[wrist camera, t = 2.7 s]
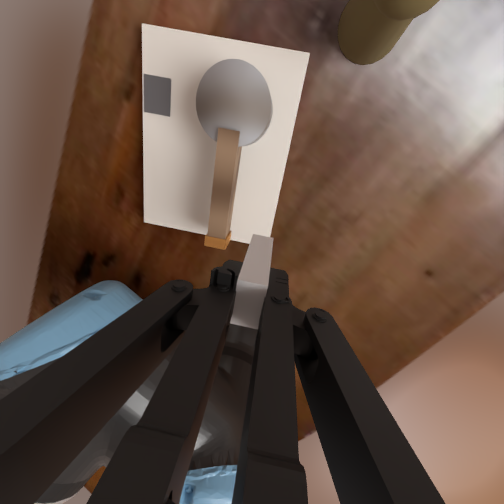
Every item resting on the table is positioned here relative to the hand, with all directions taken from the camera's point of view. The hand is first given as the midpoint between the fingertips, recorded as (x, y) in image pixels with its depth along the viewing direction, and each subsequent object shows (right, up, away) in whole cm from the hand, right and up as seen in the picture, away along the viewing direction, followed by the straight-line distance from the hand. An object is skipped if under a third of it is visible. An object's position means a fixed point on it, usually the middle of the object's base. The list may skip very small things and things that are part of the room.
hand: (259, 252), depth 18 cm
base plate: (-5, +12, +12) cm, 18 cm away
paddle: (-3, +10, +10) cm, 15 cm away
